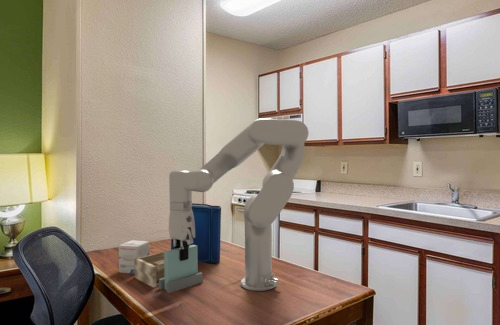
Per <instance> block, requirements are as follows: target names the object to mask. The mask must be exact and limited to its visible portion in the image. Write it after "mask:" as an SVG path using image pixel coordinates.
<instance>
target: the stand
mask: <svg viewBox="0 0 500 325" xmlns="http://www.w3.org/2000/svg"><path fill="white" fill-rule="evenodd" d="M200 283H201V284H202V283H204V273H203V272H201V271H200V272H198V273H197V274H193V275H190V276H187V277H184V278H180V279H177V280H174V281H171V282H167V283H166V290H165V278H161V279H159V286H158V289H159V290H165V292H166V293H167V294H168V295H169V294H171V293H174V292H177V291H180V290H184V289H186V288H190V287H192V286H193V287H194V286H195V285H198V284H200Z"/></svg>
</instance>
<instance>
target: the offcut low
mask: <svg viewBox="0 0 500 325" xmlns="http://www.w3.org/2000/svg"><path fill="white" fill-rule="evenodd" d="M161 278H164V272H161V273H158V272H156V283H159V279H161Z"/></svg>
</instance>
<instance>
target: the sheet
mask: <svg viewBox="0 0 500 325" xmlns="http://www.w3.org/2000/svg"><path fill="white" fill-rule="evenodd" d="M180 249H181V248H177V249H173V250H171V249H169V250H165V251H163V252H164V278H165V288H164V290H165V291H166V283H167V282H171V281H174V280H177V279H180V278H184V277H187V276H190V275H193V274H197V273H199V271H198V270H199V267H198V264H199V262H198V249H197V246H196V245H190V246H189V248H188V259H187V260H183V261H180Z"/></svg>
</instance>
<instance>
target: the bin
mask: <svg viewBox="0 0 500 325" xmlns="http://www.w3.org/2000/svg"><path fill="white" fill-rule="evenodd" d="M161 260H164V251H161V252H156V253H152V254H149V255H147V256H143V257H139V258H134V278H135V279H136V280H138V281H141V282H142V283H143V284H146V285H148V286H150V287H152V288H153V289H154V288H158V287H159V283H156V266H154V265H153V262H157V261H161Z"/></svg>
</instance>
